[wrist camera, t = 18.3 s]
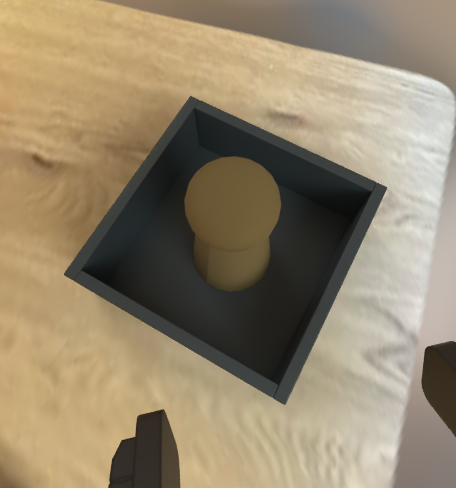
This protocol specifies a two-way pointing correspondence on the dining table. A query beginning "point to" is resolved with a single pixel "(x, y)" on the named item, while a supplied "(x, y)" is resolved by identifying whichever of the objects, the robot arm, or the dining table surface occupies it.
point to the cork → (232, 221)
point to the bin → (182, 244)
